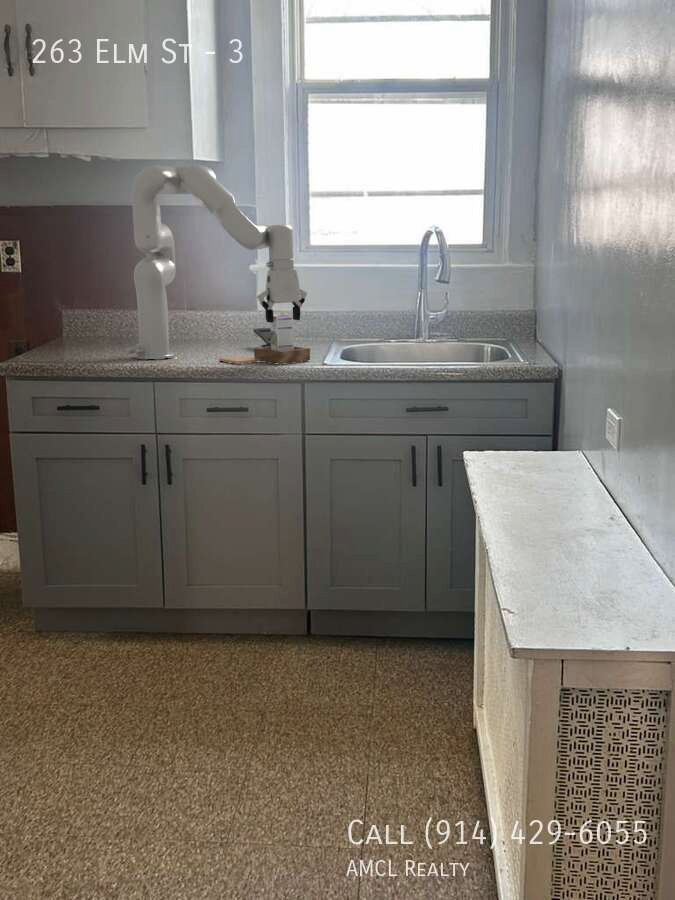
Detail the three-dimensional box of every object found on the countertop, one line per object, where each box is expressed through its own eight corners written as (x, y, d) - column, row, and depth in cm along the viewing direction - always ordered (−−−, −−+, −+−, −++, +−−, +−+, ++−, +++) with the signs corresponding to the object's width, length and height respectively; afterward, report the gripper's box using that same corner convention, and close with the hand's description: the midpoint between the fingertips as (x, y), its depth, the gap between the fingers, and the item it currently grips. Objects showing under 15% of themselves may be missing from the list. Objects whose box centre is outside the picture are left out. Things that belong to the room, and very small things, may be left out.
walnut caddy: (280, 365, 322) (280, 352, 321) (254, 361, 331) (254, 348, 330) (310, 361, 330) (309, 348, 330) (283, 357, 339) (283, 344, 338)
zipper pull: (276, 327, 365) (292, 335, 341) (276, 346, 366) (292, 356, 343) (251, 328, 362) (265, 336, 339) (251, 347, 364) (266, 357, 340)
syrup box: (294, 361, 329) (294, 315, 326) (277, 362, 327) (276, 316, 323) (287, 359, 334) (286, 313, 331) (270, 360, 332) (269, 314, 328)
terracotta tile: (239, 364, 322) (239, 361, 322) (218, 361, 329) (218, 358, 329) (263, 361, 329) (263, 358, 329) (243, 358, 336) (243, 355, 336)
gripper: (263, 267, 316) (265, 324, 320) (311, 264, 326) (313, 319, 329) (251, 266, 322) (253, 322, 326) (298, 264, 332) (300, 318, 335)
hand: (283, 321), depth 328 cm, fingers open, 9 cm apart
